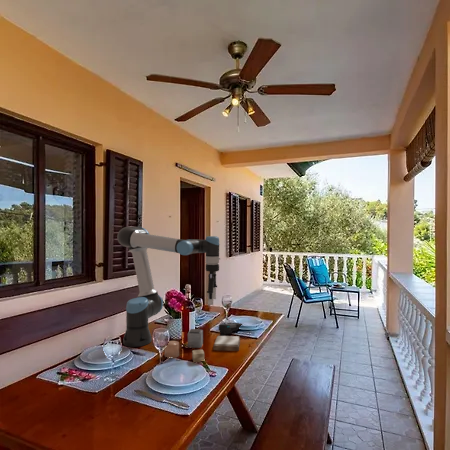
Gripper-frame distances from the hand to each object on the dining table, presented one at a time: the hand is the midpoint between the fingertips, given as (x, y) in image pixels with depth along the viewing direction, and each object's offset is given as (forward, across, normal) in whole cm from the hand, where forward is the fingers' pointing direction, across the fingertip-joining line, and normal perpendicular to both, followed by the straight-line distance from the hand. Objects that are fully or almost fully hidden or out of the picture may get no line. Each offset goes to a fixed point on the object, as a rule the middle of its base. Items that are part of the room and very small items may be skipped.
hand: (212, 301), depth 173 cm
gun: (+22, +12, -10) cm, 27 cm away
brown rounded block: (+22, -22, +17) cm, 35 cm away
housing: (+22, -8, +8) cm, 24 cm away
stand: (+21, -8, -9) cm, 24 cm away
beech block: (+22, -26, +4) cm, 34 cm away
